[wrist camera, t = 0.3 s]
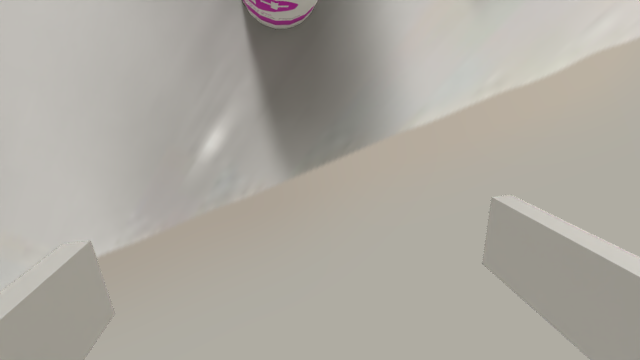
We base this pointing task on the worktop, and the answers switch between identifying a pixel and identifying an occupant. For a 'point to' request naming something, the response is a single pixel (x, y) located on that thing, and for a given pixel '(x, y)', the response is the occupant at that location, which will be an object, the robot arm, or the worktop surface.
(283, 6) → the supplement can
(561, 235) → the robot arm
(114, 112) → the worktop surface
